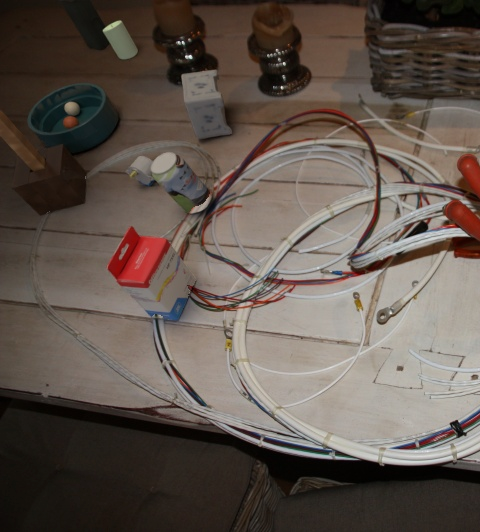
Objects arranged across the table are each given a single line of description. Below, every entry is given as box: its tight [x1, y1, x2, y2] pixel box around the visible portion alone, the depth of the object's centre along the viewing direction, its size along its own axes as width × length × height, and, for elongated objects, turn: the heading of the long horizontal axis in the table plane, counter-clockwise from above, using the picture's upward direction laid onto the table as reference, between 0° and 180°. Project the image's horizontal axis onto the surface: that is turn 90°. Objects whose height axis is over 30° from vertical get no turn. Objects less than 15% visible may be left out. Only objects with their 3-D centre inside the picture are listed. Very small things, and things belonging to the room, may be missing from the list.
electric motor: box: [124, 155, 156, 187], centre depth 106 cm, size 7×5×5 cm
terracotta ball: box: [63, 116, 79, 129], centre depth 118 cm, size 3×3×3 cm
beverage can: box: [151, 151, 211, 214], centre depth 98 cm, size 6×7×12 cm
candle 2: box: [103, 20, 139, 60], centre depth 131 cm, size 5×5×8 cm
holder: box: [11, 144, 87, 216], centre depth 105 cm, size 9×9×8 cm
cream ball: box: [64, 102, 80, 116], centre depth 121 cm, size 3×3×3 cm
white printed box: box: [181, 69, 233, 140], centre depth 112 cm, size 10×8×10 cm
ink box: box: [106, 225, 197, 321], centre depth 86 cm, size 8×5×15 cm, turn 170°
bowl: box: [26, 82, 119, 154], centre depth 117 cm, size 16×16×6 cm
